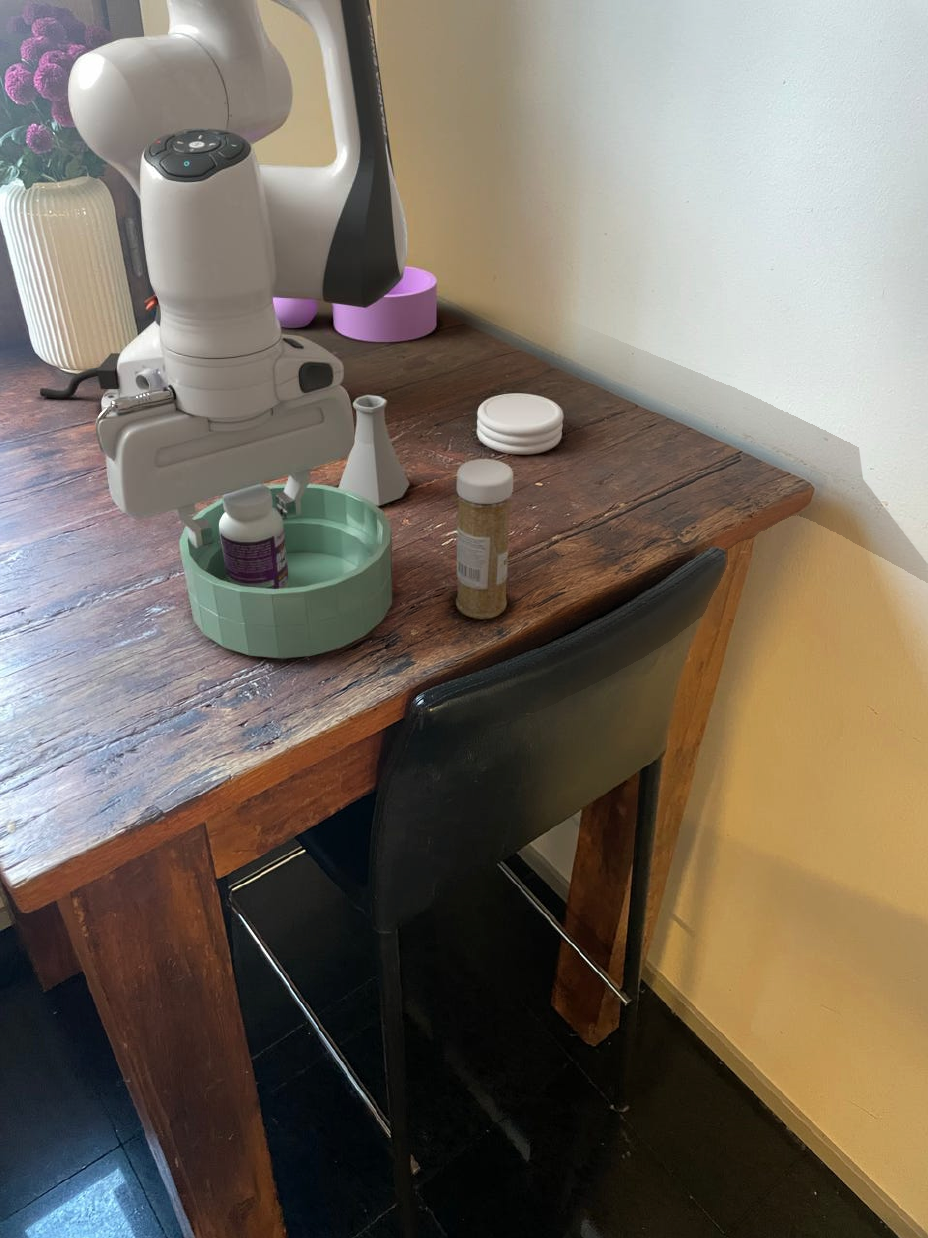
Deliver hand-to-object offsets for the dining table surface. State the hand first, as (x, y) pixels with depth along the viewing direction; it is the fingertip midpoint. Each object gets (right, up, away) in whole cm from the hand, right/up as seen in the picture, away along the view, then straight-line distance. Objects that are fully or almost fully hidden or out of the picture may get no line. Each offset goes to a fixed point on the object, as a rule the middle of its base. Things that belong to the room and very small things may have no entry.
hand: (246, 528), depth 79 cm
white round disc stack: (+25, +14, +30) cm, 42 cm away
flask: (+9, +6, +20) cm, 22 cm away
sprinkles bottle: (+20, -7, +3) cm, 21 cm away
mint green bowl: (+4, -6, +3) cm, 8 cm away
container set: (+2, +36, +60) cm, 70 cm away
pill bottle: (0, -5, +4) cm, 6 cm away
